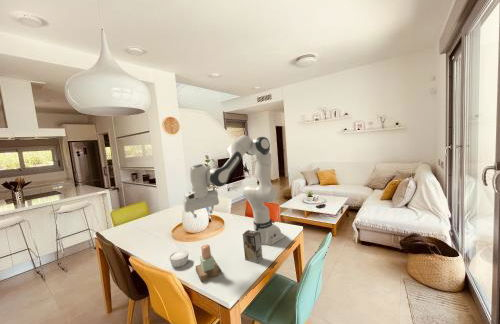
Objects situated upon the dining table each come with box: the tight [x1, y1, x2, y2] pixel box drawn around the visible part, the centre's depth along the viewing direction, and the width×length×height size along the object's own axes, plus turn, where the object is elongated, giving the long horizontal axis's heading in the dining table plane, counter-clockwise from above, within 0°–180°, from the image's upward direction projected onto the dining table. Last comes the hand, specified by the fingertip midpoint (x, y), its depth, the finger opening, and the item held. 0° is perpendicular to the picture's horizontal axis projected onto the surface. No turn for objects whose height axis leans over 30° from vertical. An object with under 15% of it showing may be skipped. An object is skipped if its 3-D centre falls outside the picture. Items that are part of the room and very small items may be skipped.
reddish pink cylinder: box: [200, 244, 212, 260], centre depth 114 cm, size 5×5×6 cm
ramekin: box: [168, 249, 189, 268], centre depth 127 cm, size 11×11×5 cm
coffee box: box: [242, 229, 264, 264], centre depth 124 cm, size 9×6×16 cm
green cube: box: [199, 253, 215, 272], centre depth 115 cm, size 6×6×6 cm
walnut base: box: [195, 259, 222, 283], centre depth 115 cm, size 11×11×3 cm
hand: (203, 215), depth 124 cm, fingers open, 8 cm apart
